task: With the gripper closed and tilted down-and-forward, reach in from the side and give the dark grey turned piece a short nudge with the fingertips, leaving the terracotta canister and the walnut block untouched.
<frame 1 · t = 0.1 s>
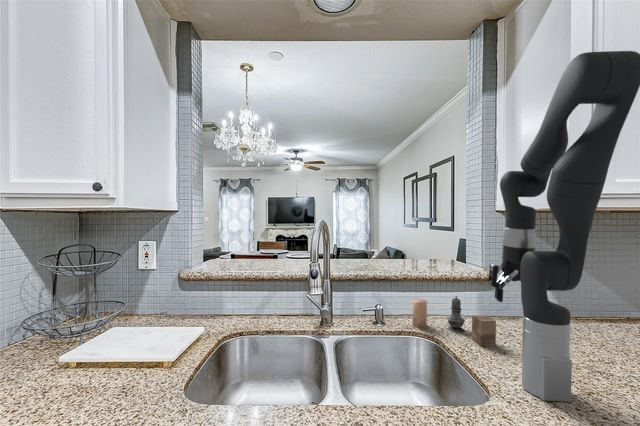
hand: (515, 301, 91), 17 cm above the worktop, tool pointing down, fingers open, 8 cm apart
walnut block: (483, 342, 105), on the worktop
terracotta canister: (419, 325, 120), on the worktop
dark grey turned piece: (455, 329, 116), on the worktop
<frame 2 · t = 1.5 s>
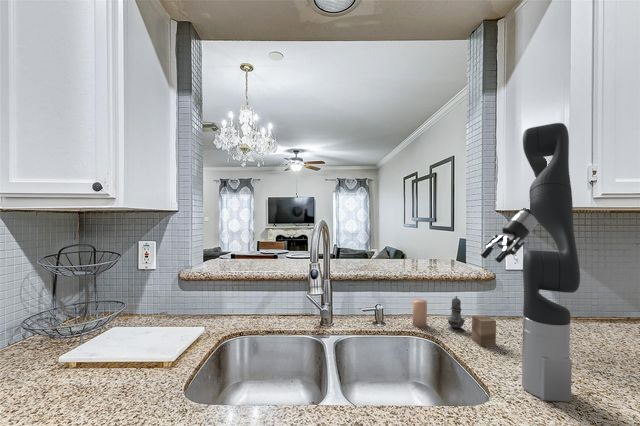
hand: (489, 258, 117), 25 cm above the worktop, tool tilted 45°, fingers open, 8 cm apart
nothing on the worktop moved.
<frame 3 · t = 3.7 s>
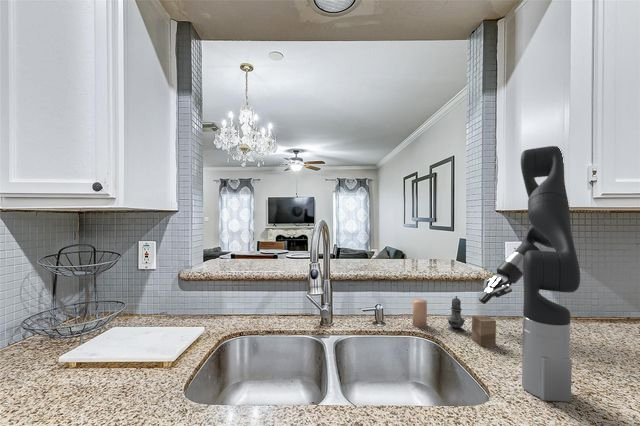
hand: (481, 301, 117), 10 cm above the worktop, tool tilted 45°, fingers closed
nothing on the worktop moved.
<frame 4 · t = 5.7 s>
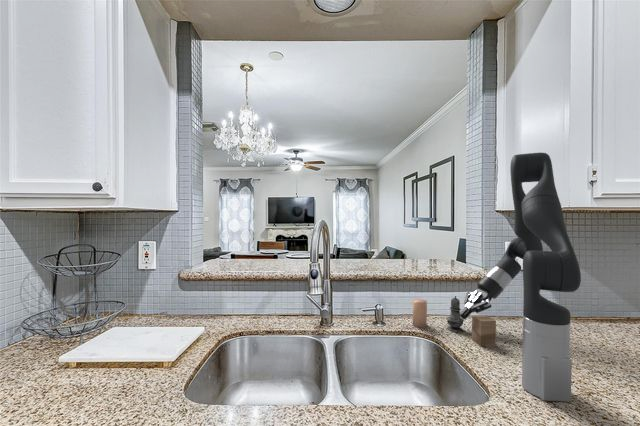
hand: (461, 317, 116), 4 cm above the worktop, tool tilted 45°, fingers closed
dark grey turned piece: (454, 329, 116), on the worktop, touching gripper
everything else where it was.
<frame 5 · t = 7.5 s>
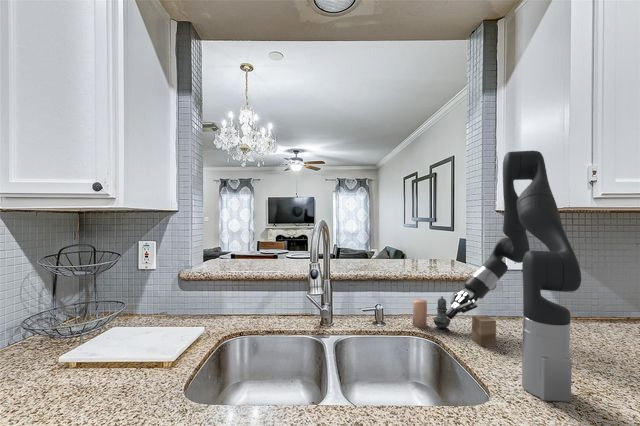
hand: (448, 317, 116), 4 cm above the worktop, tool tilted 45°, fingers closed
dark grey turned piece: (441, 330, 116), on the worktop
everything else where it was.
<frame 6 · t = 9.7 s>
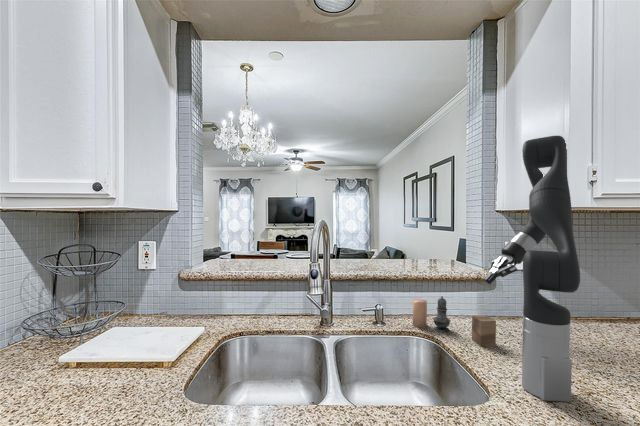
hand: (486, 282, 117), 17 cm above the worktop, tool tilted 45°, fingers closed
nothing on the worktop moved.
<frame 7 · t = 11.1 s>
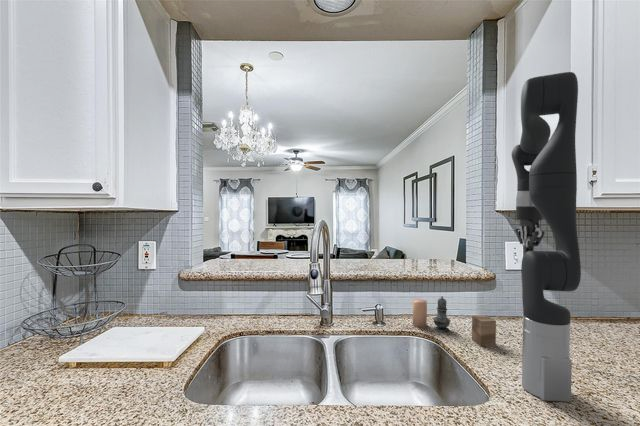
hand: (528, 258, 106), 27 cm above the worktop, tool pointing down, fingers closed
nothing on the worktop moved.
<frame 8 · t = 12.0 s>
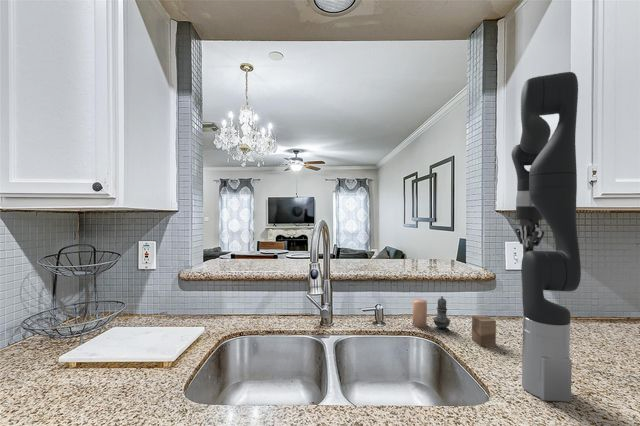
hand: (528, 258, 106), 27 cm above the worktop, tool pointing down, fingers closed
nothing on the worktop moved.
at the end: dark grey turned piece moved 5.1 cm from its start; dark grey turned piece tilted 0°; terracotta canister moved 0.0 cm from its start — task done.
